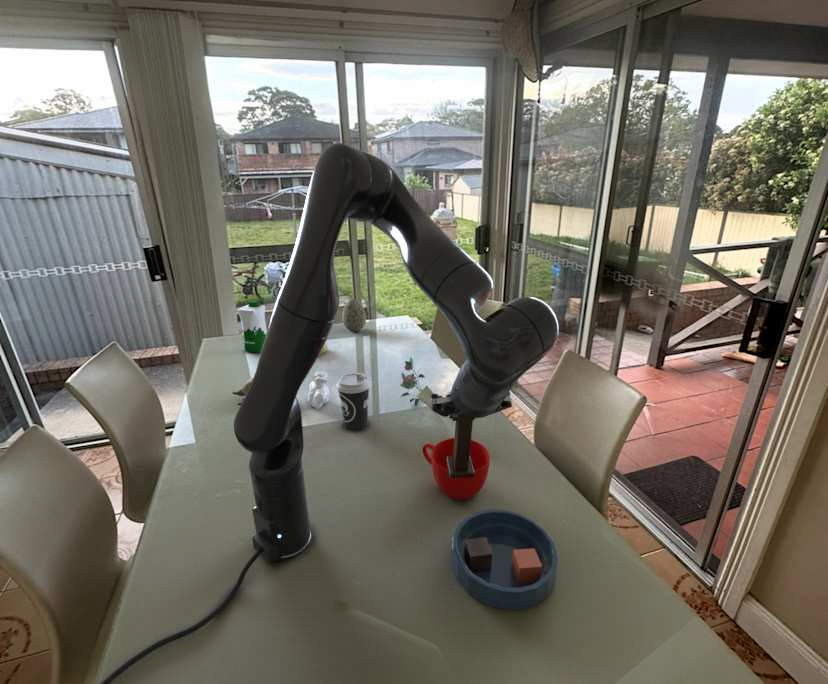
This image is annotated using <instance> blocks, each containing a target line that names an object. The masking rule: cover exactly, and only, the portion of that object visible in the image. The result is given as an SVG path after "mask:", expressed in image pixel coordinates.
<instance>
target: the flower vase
mask: <svg viewBox="0 0 828 684" xmlns="http://www.w3.org/2000/svg"><path fill="white" fill-rule="evenodd" d="M404 364H405V365H404V367H403V368H404V370H405V371H407V372H410V371H413V370H414V369H415V367H414V360H413V358H412V356H410V358H409V360H404ZM420 370H421V369H420V368H419V369H418V370H417V372H415V371H413V372H412V373H411V374H407V375H405V374H404V372H401V378H402V383H400V384H399V386H400V387H402V388H404V389H406V390H413V389H414V388H416V389H417V390H418V391H419V393H418V394H417V395H413V394H410V393H409V392H404V393H402V394H401V395H400V397H406V396H410V395H411V396H414V397H416V398H413V397H412V398H411V399H410V400H409V402H410V403H412V402H413V401H414V402H413V405H414V407H415V408H416V407H417V405H418V404H419V402H420V401H421V402H423V404H425V405H426V406H427V408H429V409H430V410H431V411H432V413H433V414H434V415H435V416H436V417H437V418H438V420H439V421H440V422H441V424H442V426H443V427H444V428H445V430H446V431H447V432H448V434H449V435H450V437H451V438H455V425H456V421H453V420H452V419H450V418H449V416H447V417H443V416H441V415H439V414H438V413H436V412H434V411H433V410H432V405H431V395H432V394H436V393H435V391H434V389H432V388H430V386H428V385H426V386H424V387H423V388H422V387H421V384H420V381H419V378H420V379H422V378H424V379H425V378H426V377H425V375H424V374H422V373H419V371H420Z"/></svg>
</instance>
